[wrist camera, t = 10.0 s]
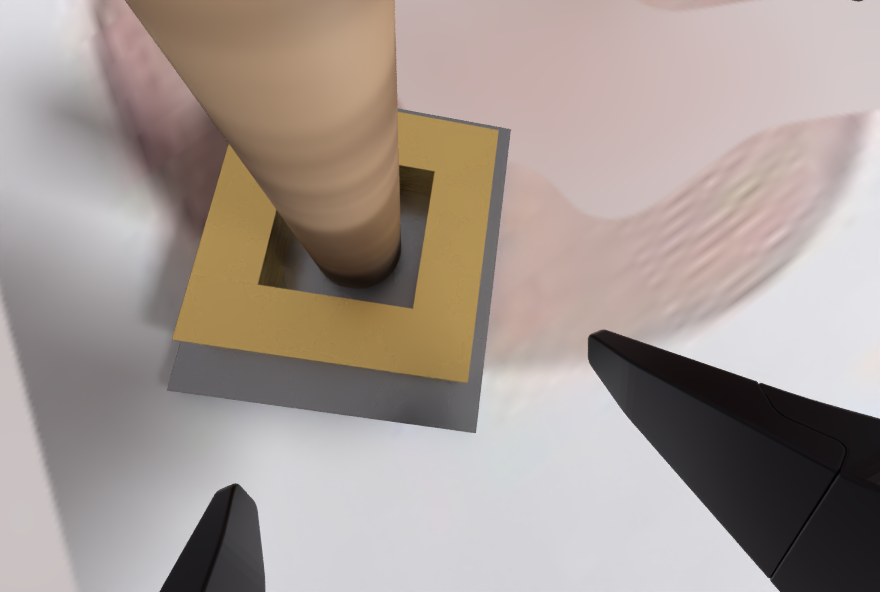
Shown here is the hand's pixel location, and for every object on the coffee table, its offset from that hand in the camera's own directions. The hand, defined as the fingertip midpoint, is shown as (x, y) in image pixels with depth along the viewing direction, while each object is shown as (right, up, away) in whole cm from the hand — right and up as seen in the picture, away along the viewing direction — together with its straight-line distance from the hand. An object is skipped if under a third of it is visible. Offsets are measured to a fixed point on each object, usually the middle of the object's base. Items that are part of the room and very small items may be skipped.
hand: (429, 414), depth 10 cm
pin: (-4, +5, +9) cm, 11 cm away
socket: (-4, +5, +10) cm, 12 cm away
